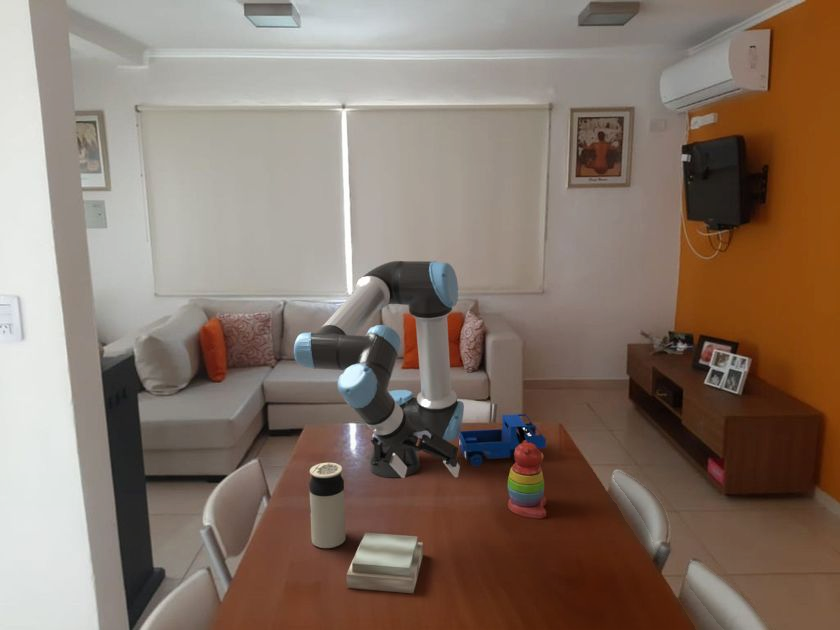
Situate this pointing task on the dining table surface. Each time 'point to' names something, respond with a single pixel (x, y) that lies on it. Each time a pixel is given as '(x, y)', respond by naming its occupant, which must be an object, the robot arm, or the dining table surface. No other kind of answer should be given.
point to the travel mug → (327, 505)
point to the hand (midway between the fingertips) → (430, 472)
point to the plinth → (385, 578)
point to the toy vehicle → (499, 440)
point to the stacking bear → (527, 482)
